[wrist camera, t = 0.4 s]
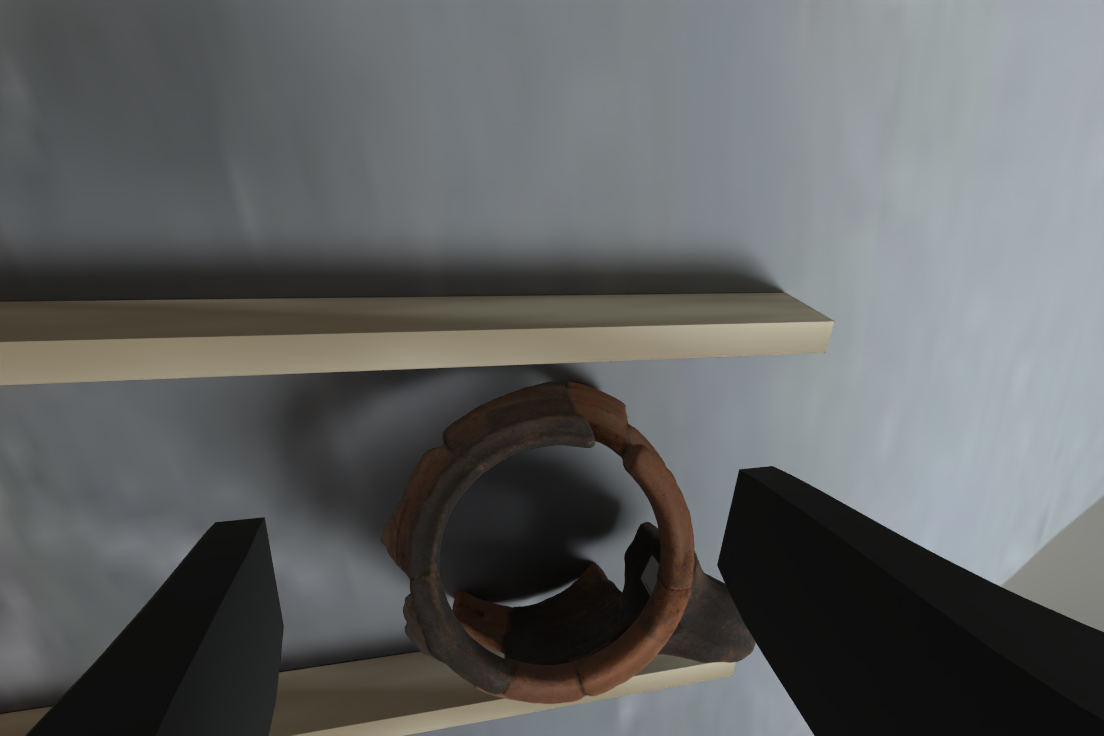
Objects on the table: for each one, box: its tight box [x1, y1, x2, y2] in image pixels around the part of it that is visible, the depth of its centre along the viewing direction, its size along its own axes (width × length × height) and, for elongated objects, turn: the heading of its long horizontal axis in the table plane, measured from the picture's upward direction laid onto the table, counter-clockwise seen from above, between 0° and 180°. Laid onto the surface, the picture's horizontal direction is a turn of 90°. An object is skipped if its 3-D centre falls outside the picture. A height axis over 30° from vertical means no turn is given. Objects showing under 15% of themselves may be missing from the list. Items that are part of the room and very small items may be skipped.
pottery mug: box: [381, 382, 755, 704], centre depth 20 cm, size 12×10×8 cm
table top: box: [0, 293, 835, 736], centre depth 18 cm, size 15×30×3 cm, turn 86°
